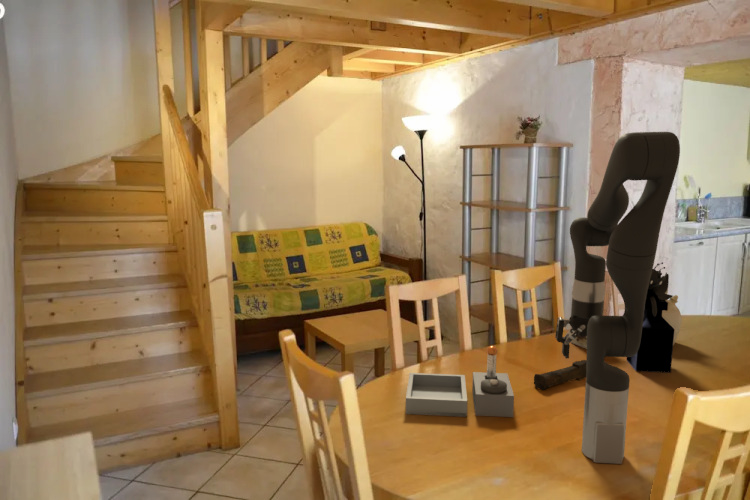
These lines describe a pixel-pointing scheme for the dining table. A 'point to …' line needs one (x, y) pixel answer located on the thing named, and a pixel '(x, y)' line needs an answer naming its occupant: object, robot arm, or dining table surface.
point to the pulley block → (492, 395)
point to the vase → (655, 329)
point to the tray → (436, 395)
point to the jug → (673, 315)
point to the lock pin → (491, 362)
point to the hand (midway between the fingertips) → (583, 358)
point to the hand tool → (561, 375)
